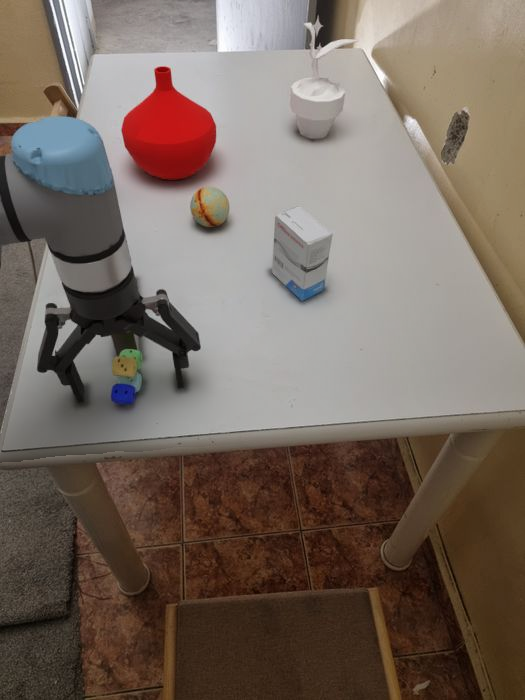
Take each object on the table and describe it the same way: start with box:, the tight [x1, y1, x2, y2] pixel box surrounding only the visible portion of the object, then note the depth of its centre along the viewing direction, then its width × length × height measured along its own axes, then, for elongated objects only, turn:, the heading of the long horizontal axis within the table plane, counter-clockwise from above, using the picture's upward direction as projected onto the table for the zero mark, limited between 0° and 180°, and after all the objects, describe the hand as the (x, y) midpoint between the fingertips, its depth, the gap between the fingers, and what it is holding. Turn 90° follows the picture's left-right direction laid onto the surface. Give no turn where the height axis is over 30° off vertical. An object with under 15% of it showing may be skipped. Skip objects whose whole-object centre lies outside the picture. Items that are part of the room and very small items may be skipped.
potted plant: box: [289, 14, 359, 140], centre depth 108 cm, size 13×12×25 cm
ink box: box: [271, 205, 334, 302], centre depth 82 cm, size 8×5×12 cm, turn 34°
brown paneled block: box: [110, 331, 140, 357], centre depth 77 cm, size 3×17×6 cm, turn 11°
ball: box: [189, 186, 231, 228], centre depth 93 cm, size 7×7×7 cm
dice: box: [110, 349, 144, 405], centre depth 69 cm, size 8×3×6 cm, turn 176°
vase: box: [121, 65, 217, 181], centre depth 100 cm, size 18×18×19 cm
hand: (131, 387), depth 71 cm, fingers open, 13 cm apart
